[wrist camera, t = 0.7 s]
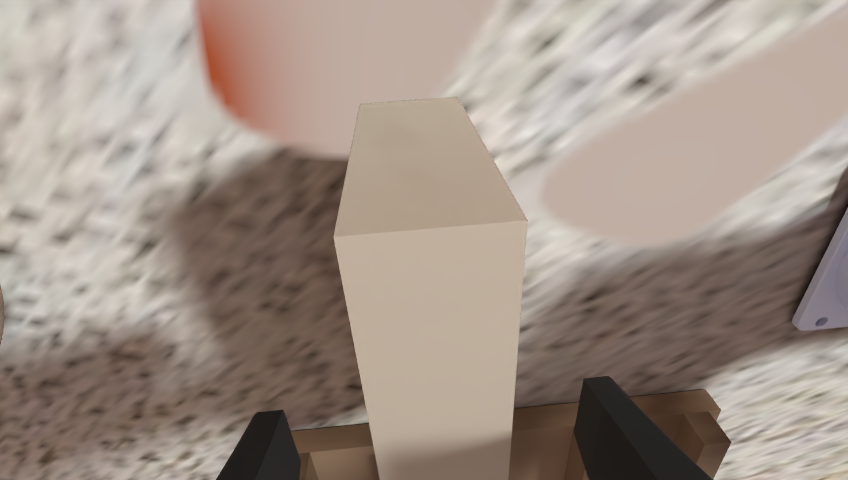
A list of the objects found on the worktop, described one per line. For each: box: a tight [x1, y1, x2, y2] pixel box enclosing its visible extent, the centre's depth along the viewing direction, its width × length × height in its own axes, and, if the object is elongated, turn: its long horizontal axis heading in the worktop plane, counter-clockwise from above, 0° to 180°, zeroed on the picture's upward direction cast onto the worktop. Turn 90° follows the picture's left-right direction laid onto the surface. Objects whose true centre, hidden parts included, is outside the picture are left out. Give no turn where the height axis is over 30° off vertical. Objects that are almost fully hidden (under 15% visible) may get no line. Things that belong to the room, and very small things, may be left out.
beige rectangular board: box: [333, 97, 527, 480], centre depth 13 cm, size 3×12×8 cm, turn 3°
